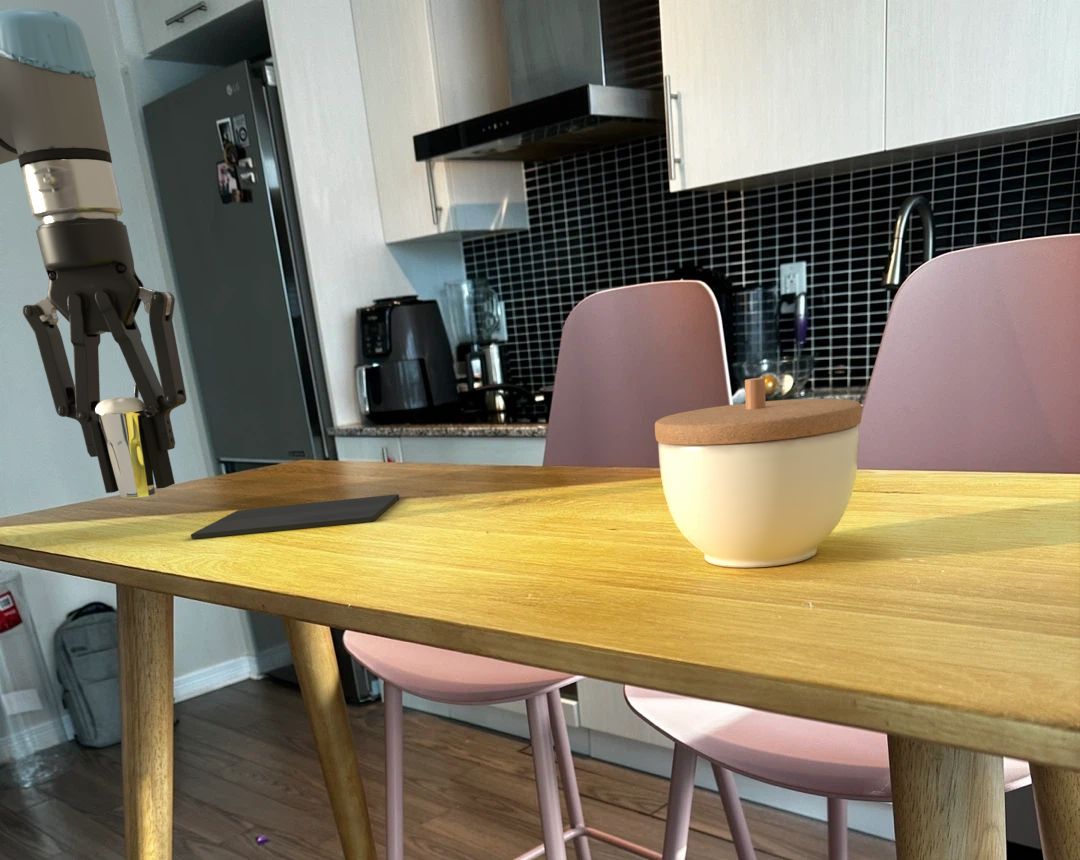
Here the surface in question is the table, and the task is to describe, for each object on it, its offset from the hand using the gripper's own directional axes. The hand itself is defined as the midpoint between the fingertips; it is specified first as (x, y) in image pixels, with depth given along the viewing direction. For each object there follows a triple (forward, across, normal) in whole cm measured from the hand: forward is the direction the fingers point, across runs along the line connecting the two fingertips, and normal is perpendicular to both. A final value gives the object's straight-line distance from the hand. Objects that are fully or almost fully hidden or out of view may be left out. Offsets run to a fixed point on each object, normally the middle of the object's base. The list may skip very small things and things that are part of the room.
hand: (140, 487), depth 99 cm
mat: (+5, +13, +6) cm, 15 cm away
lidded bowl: (+4, +54, -31) cm, 63 cm away
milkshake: (+1, 0, 0) cm, 1 cm away
